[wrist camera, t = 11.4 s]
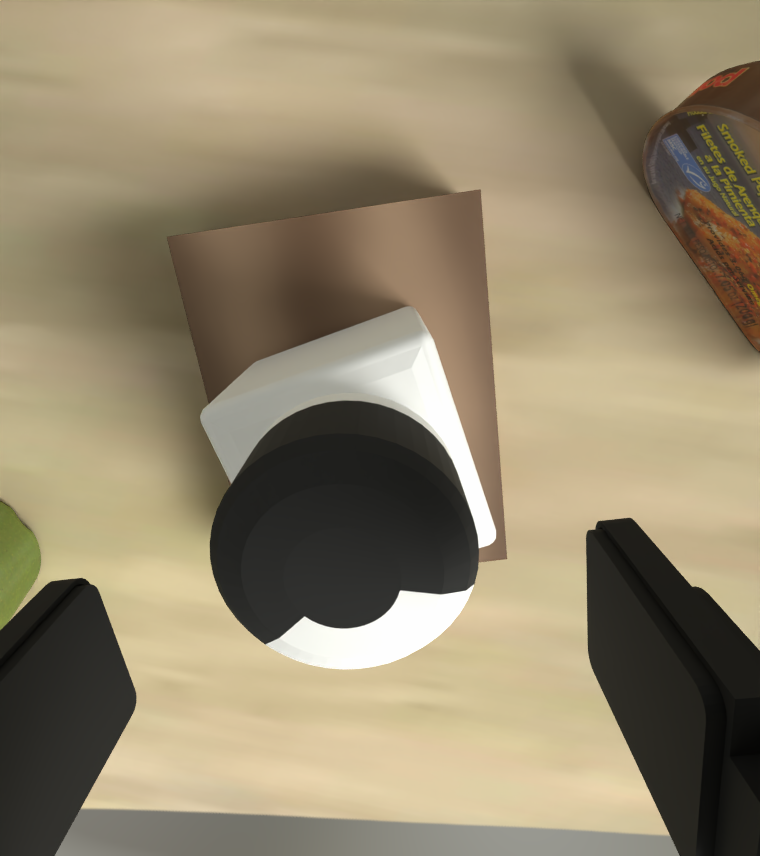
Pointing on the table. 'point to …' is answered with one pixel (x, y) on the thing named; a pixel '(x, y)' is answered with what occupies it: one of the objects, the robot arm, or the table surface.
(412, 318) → the medicine bottle
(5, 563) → the plant pot
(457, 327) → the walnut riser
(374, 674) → the table surface
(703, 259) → the tin
